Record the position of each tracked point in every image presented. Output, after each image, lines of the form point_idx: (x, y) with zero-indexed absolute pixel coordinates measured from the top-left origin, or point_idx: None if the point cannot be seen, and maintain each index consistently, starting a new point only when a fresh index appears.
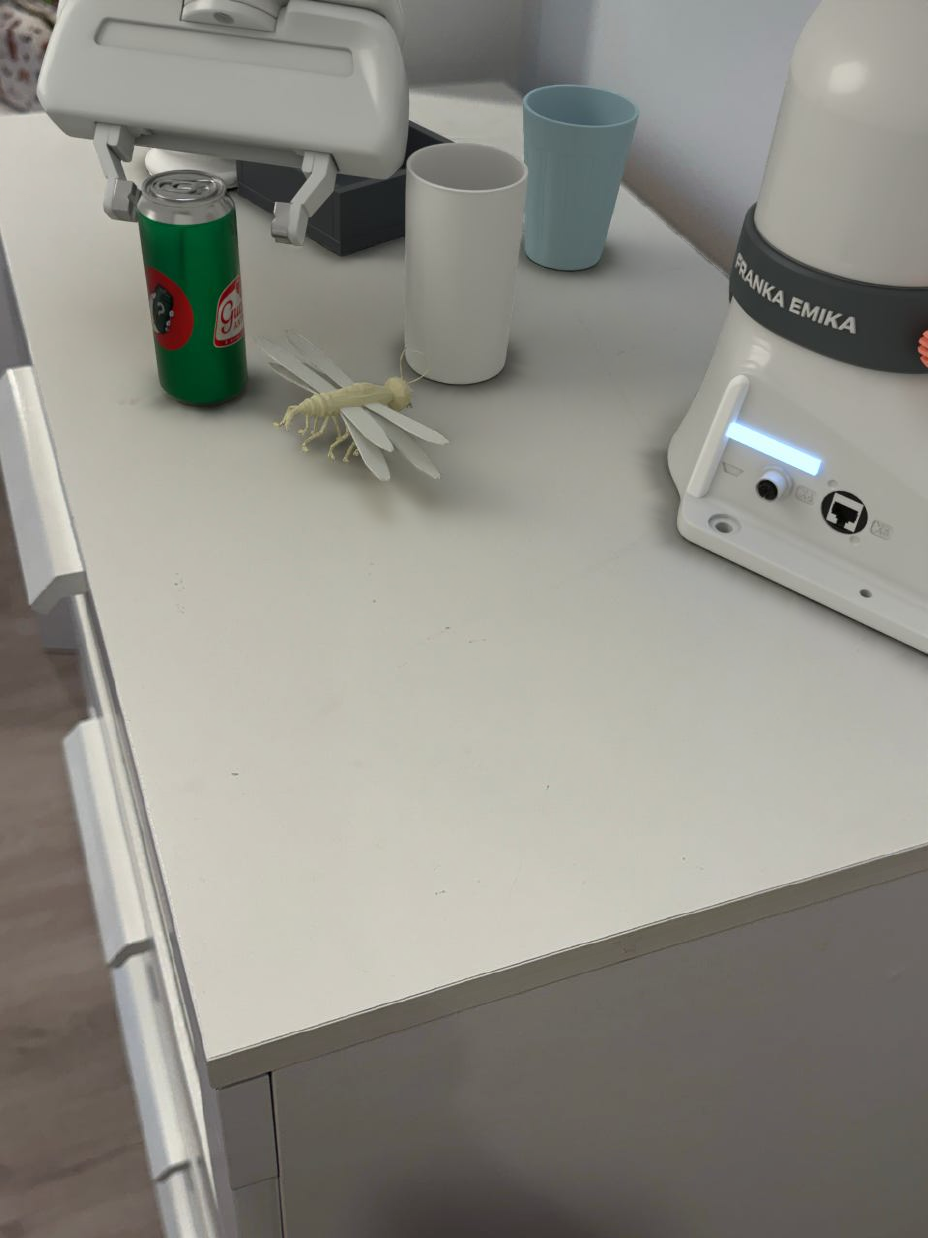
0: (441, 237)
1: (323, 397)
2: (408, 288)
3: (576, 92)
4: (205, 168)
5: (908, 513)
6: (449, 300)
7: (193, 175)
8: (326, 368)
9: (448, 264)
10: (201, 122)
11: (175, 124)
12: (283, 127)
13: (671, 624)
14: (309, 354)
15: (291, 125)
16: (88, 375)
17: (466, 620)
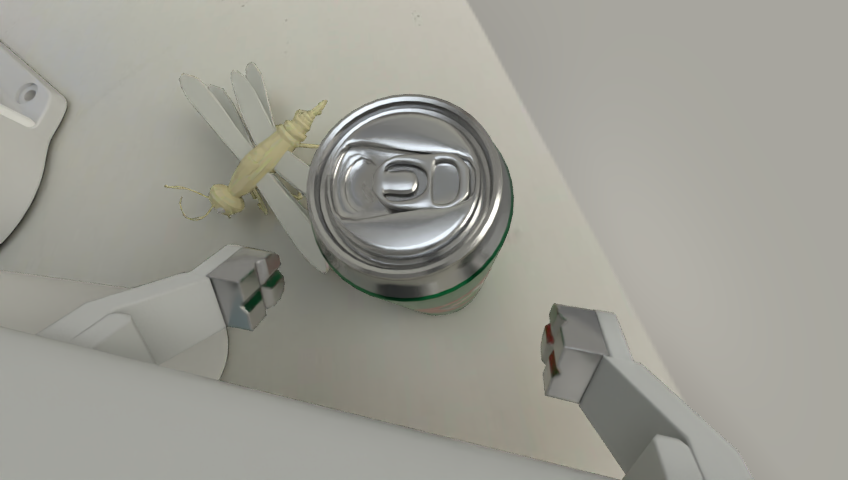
0: (4, 275)
1: (284, 125)
2: None
3: None
4: None
5: None
6: (101, 284)
7: (386, 239)
8: (286, 204)
9: (46, 277)
10: (352, 433)
11: (453, 443)
12: (67, 380)
13: (109, 27)
14: (302, 222)
15: (32, 379)
16: (568, 281)
17: (230, 13)
